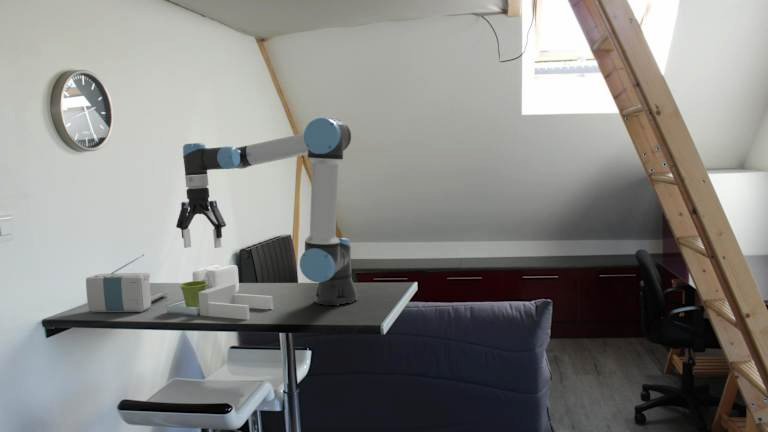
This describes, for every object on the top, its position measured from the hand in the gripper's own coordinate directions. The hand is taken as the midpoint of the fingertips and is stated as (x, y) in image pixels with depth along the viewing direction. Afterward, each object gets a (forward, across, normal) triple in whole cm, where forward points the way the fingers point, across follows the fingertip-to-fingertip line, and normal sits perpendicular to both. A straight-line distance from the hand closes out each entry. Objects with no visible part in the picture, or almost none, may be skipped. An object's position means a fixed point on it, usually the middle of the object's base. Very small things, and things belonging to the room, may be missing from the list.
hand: (202, 247), depth 208 cm
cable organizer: (+22, -9, +16) cm, 29 cm away
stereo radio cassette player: (+22, -30, -11) cm, 38 cm away
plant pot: (+21, -3, -3) cm, 22 cm away
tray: (+22, -3, -3) cm, 22 cm away
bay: (+22, +14, -2) cm, 26 cm away
